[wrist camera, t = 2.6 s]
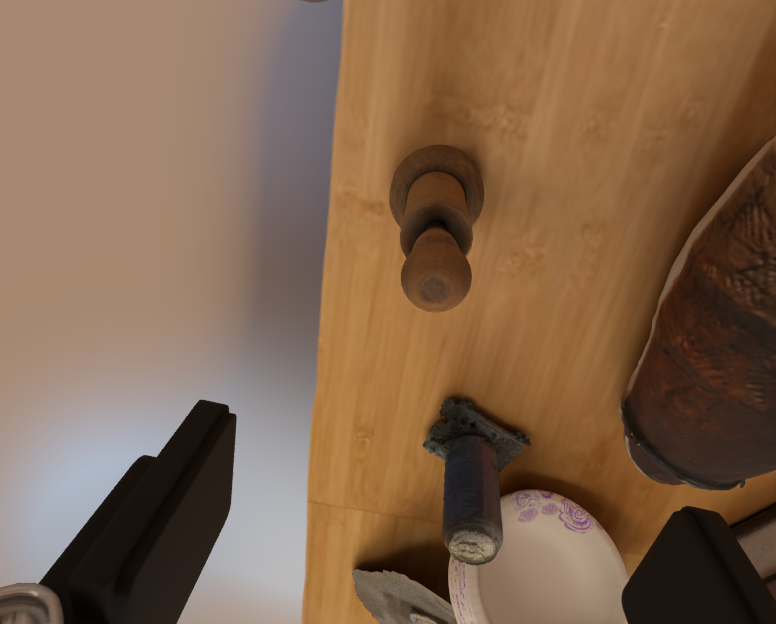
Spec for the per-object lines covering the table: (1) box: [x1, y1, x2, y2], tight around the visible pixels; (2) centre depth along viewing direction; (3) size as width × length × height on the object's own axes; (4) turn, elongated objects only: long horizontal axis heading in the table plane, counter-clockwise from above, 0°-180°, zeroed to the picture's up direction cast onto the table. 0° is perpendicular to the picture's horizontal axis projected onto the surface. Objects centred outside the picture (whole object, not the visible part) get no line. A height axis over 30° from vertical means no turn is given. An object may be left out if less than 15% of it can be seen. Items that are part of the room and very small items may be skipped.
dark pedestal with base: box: [423, 397, 530, 566], centre depth 40 cm, size 9×8×12 cm
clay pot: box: [618, 136, 776, 490], centre depth 33 cm, size 15×15×25 cm
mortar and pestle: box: [390, 145, 484, 312], centre depth 28 cm, size 7×6×18 cm
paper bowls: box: [448, 490, 629, 624], centre depth 44 cm, size 15×15×8 cm
